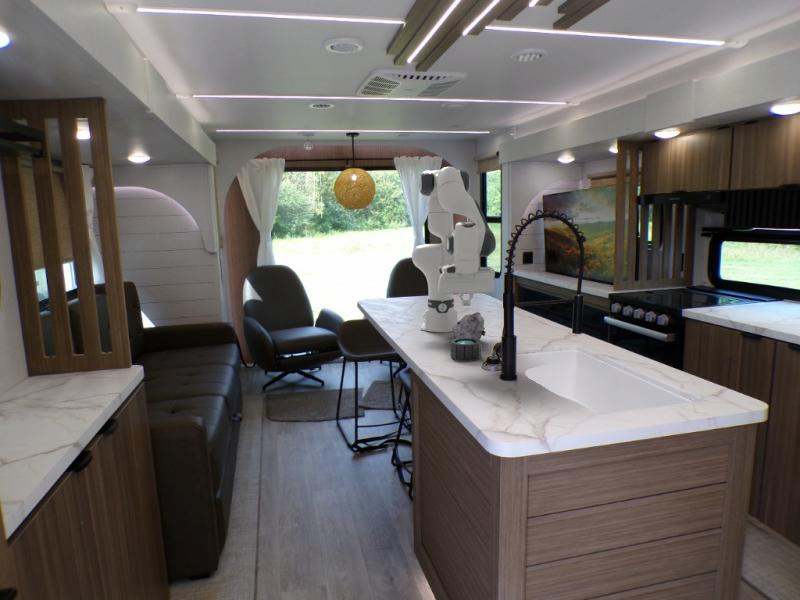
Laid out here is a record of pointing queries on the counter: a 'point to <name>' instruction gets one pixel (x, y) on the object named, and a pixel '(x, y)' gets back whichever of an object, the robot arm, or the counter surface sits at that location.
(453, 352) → the grey short cylinder
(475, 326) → the rock
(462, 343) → the teal cube
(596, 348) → the counter surface
